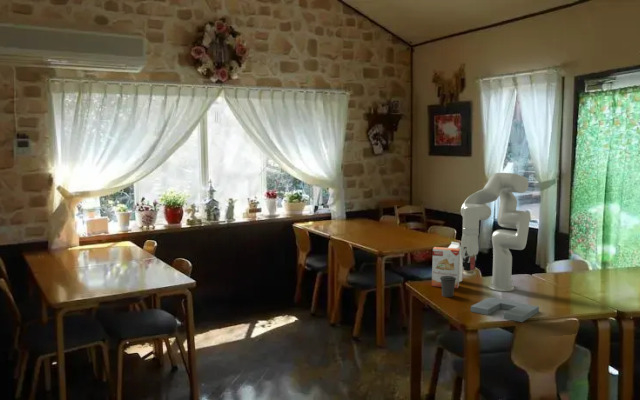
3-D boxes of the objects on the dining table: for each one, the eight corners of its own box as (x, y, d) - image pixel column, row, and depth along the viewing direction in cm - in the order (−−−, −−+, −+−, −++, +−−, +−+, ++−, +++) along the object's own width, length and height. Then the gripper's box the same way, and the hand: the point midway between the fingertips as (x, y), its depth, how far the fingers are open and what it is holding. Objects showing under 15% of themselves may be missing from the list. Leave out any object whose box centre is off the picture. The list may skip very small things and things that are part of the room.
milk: (454, 282, 315) (455, 243, 313) (446, 280, 320) (447, 242, 318) (462, 281, 319) (463, 242, 316) (454, 279, 324) (454, 240, 321)
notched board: (489, 302, 277) (489, 297, 277) (538, 311, 262) (539, 306, 262) (470, 311, 262) (470, 306, 262) (521, 322, 247) (522, 316, 246)
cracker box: (431, 286, 307) (432, 248, 305) (433, 283, 313) (434, 246, 310) (458, 288, 302) (459, 250, 300) (459, 286, 308) (460, 248, 306)
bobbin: (466, 272, 276) (467, 251, 275) (477, 273, 273) (478, 253, 272) (461, 274, 272) (461, 253, 271) (472, 276, 268) (472, 255, 267)
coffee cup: (456, 298, 284) (456, 278, 283) (439, 297, 286) (440, 277, 285) (455, 294, 292) (456, 274, 291) (439, 293, 294) (439, 274, 293)
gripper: (471, 228, 279) (470, 265, 281) (454, 233, 266) (453, 271, 268) (485, 230, 274) (484, 267, 276) (469, 235, 261) (468, 273, 263)
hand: (469, 269), depth 272 cm, fingers closed on bobbin, 4 cm apart
